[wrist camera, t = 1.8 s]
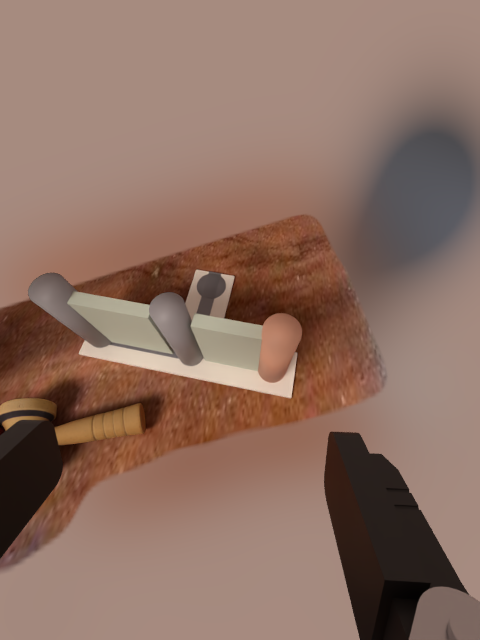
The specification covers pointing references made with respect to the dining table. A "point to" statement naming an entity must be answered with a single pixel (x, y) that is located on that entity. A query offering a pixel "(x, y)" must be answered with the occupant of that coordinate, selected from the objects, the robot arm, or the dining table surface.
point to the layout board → (209, 300)
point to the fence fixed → (120, 318)
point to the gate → (249, 343)
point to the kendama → (78, 430)
